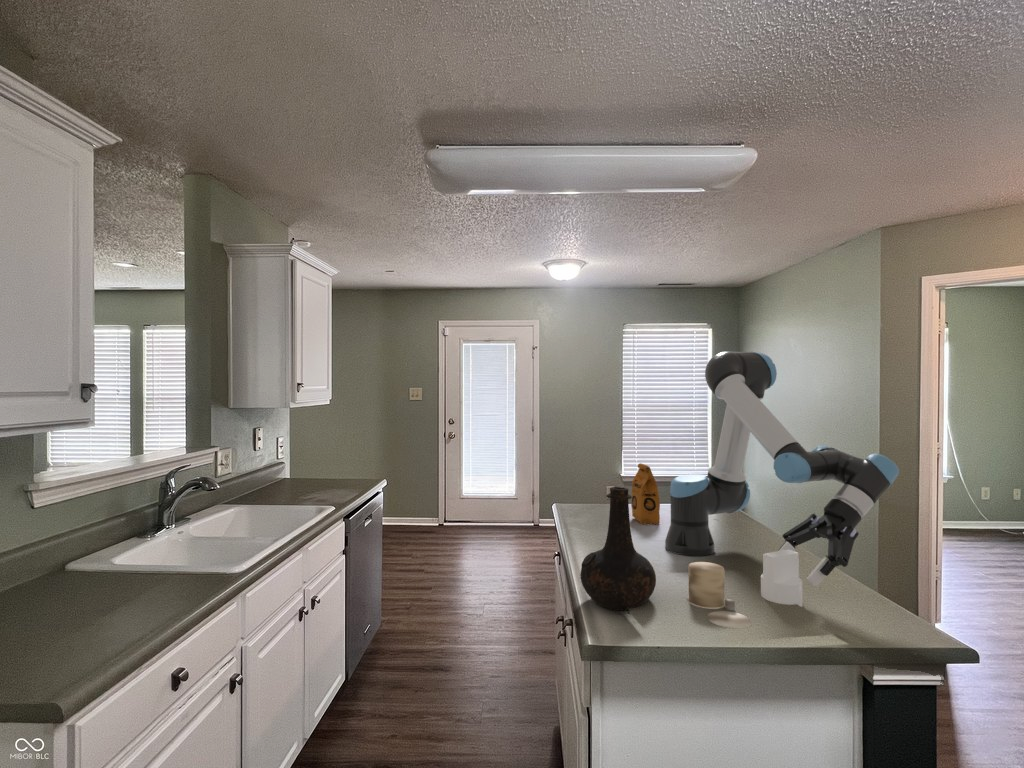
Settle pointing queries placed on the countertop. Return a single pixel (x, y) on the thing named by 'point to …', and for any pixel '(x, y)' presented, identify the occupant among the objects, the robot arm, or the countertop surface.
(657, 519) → the coffee package
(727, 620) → the board
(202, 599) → the countertop surface
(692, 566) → the oak cylinder
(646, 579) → the glass bottle
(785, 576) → the cylinder with rectangular tab
